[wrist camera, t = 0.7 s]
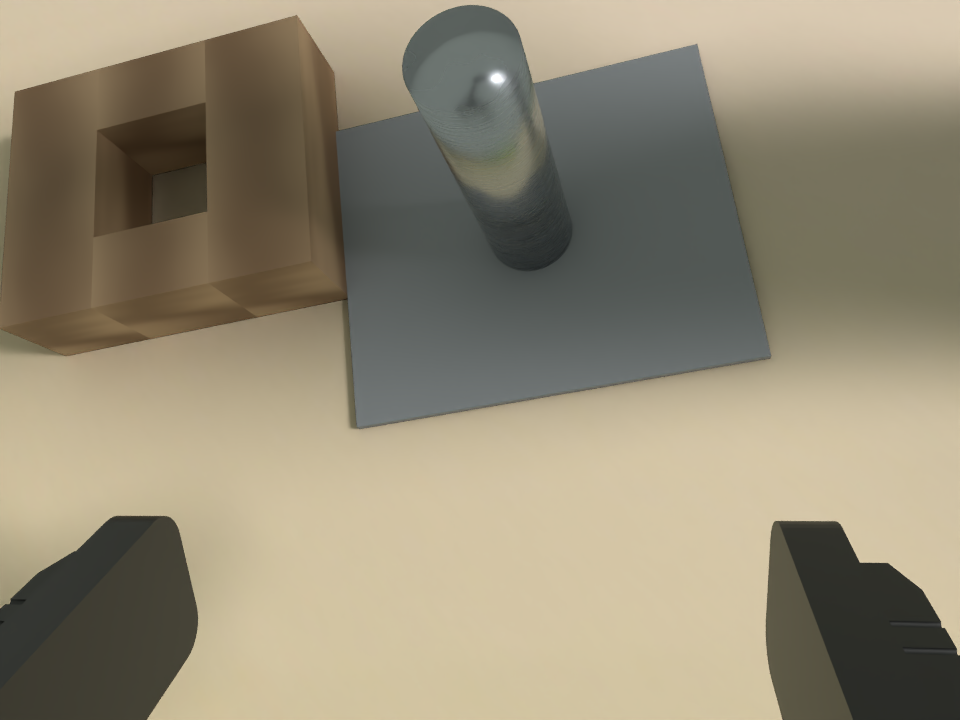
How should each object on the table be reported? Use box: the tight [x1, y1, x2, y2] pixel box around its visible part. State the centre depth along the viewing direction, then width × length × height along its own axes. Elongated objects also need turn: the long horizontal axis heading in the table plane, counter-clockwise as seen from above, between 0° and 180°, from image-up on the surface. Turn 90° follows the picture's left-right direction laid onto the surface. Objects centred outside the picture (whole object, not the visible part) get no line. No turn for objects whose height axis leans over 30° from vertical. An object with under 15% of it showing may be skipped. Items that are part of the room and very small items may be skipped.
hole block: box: [0, 15, 348, 356], centre depth 32 cm, size 12×10×4 cm
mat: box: [336, 44, 771, 429], centre depth 30 cm, size 14×12×1 cm
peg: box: [402, 5, 572, 271], centre depth 25 cm, size 3×3×10 cm
